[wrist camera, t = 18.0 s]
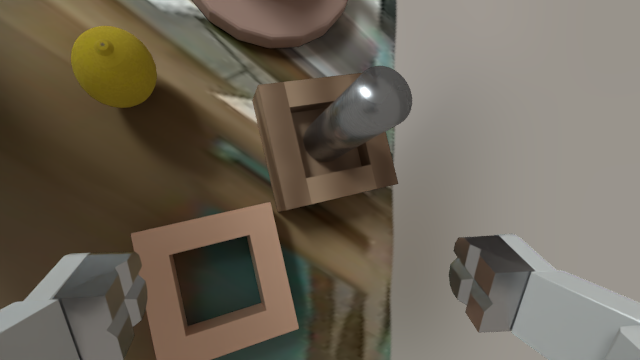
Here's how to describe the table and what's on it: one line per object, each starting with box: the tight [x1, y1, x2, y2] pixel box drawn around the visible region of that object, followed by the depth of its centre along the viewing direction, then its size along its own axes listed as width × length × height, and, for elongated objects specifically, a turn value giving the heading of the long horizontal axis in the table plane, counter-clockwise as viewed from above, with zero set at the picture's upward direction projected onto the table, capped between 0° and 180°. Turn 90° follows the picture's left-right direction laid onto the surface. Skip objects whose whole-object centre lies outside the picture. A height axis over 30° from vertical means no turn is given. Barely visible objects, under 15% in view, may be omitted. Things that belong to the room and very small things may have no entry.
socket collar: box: [131, 202, 299, 360], centre depth 30 cm, size 11×11×3 cm
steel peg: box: [303, 66, 412, 162], centre depth 28 cm, size 4×4×12 cm
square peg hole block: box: [252, 73, 398, 212], centre depth 34 cm, size 11×11×4 cm
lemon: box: [71, 26, 157, 108], centre depth 27 cm, size 6×6×8 cm
